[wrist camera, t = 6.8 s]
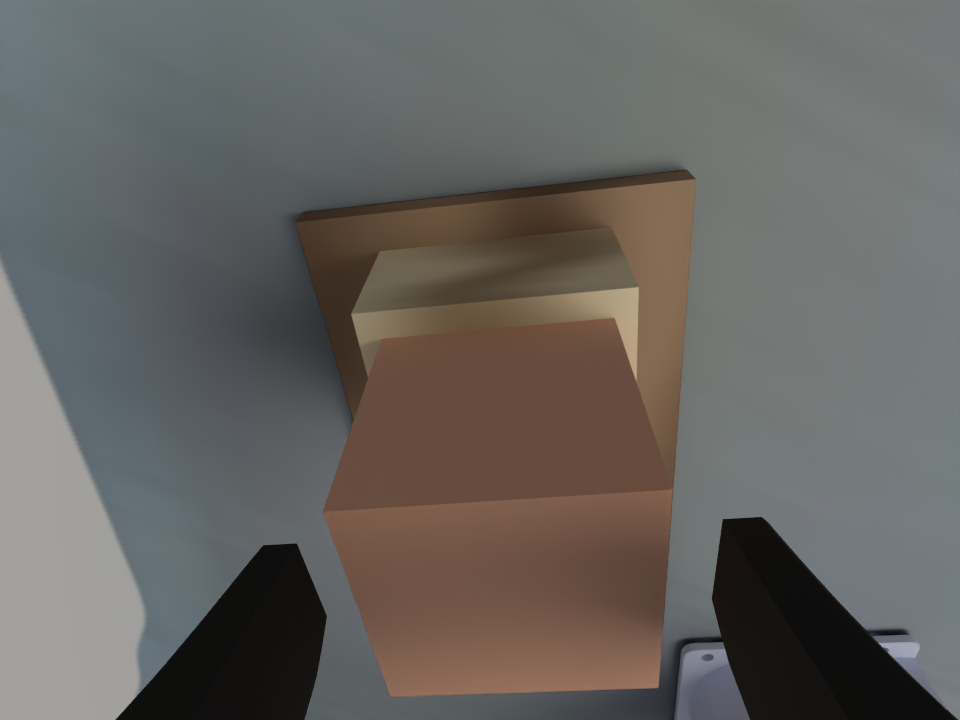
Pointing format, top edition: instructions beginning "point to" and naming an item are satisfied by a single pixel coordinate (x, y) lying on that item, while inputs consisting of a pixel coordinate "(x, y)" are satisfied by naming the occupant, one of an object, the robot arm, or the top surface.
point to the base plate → (517, 213)
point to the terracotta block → (505, 513)
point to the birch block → (498, 288)
